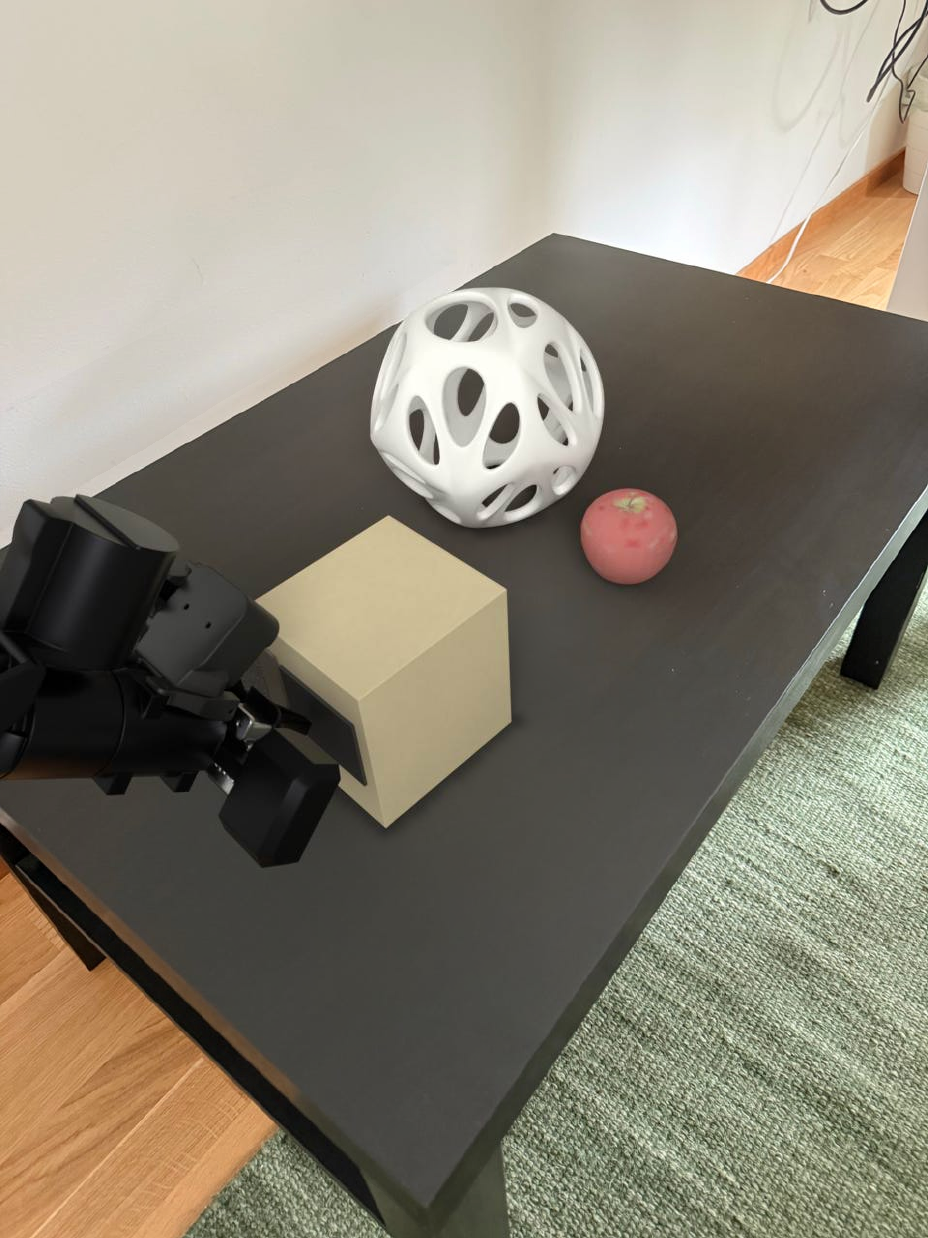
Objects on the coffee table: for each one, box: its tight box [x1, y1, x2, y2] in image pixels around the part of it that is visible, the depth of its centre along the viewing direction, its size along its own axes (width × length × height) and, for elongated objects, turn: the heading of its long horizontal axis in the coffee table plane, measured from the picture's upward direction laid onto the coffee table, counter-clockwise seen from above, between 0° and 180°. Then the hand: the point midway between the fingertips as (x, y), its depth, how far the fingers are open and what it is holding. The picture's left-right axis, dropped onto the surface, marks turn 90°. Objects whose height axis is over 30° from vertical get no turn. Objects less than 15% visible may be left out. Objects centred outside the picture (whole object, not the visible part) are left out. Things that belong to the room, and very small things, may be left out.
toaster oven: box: [254, 515, 512, 829], centre depth 61 cm, size 12×11×13 cm
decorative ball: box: [369, 286, 606, 529], centre depth 79 cm, size 20×20×17 cm
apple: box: [580, 488, 678, 585], centre depth 73 cm, size 7×7×8 cm
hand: (305, 726), depth 58 cm, fingers closed
